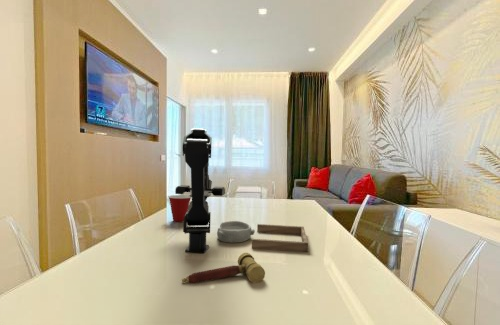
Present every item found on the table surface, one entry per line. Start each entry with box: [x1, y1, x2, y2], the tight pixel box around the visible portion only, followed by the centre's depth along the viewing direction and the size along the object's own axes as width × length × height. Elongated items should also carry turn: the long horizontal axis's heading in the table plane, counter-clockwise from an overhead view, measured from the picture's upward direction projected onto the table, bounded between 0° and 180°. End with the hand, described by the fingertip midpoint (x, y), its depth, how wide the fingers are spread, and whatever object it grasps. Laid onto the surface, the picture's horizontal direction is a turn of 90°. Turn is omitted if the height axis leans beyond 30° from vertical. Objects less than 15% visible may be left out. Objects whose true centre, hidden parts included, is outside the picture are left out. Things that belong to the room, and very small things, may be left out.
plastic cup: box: [168, 194, 192, 223], centre depth 128 cm, size 11×11×12 cm
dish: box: [216, 220, 256, 243], centre depth 105 cm, size 14×14×5 cm
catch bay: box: [251, 223, 309, 253], centre depth 103 cm, size 20×19×3 cm
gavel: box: [181, 252, 266, 284], centre depth 72 cm, size 21×5×10 cm
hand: (200, 212), depth 107 cm, fingers closed
